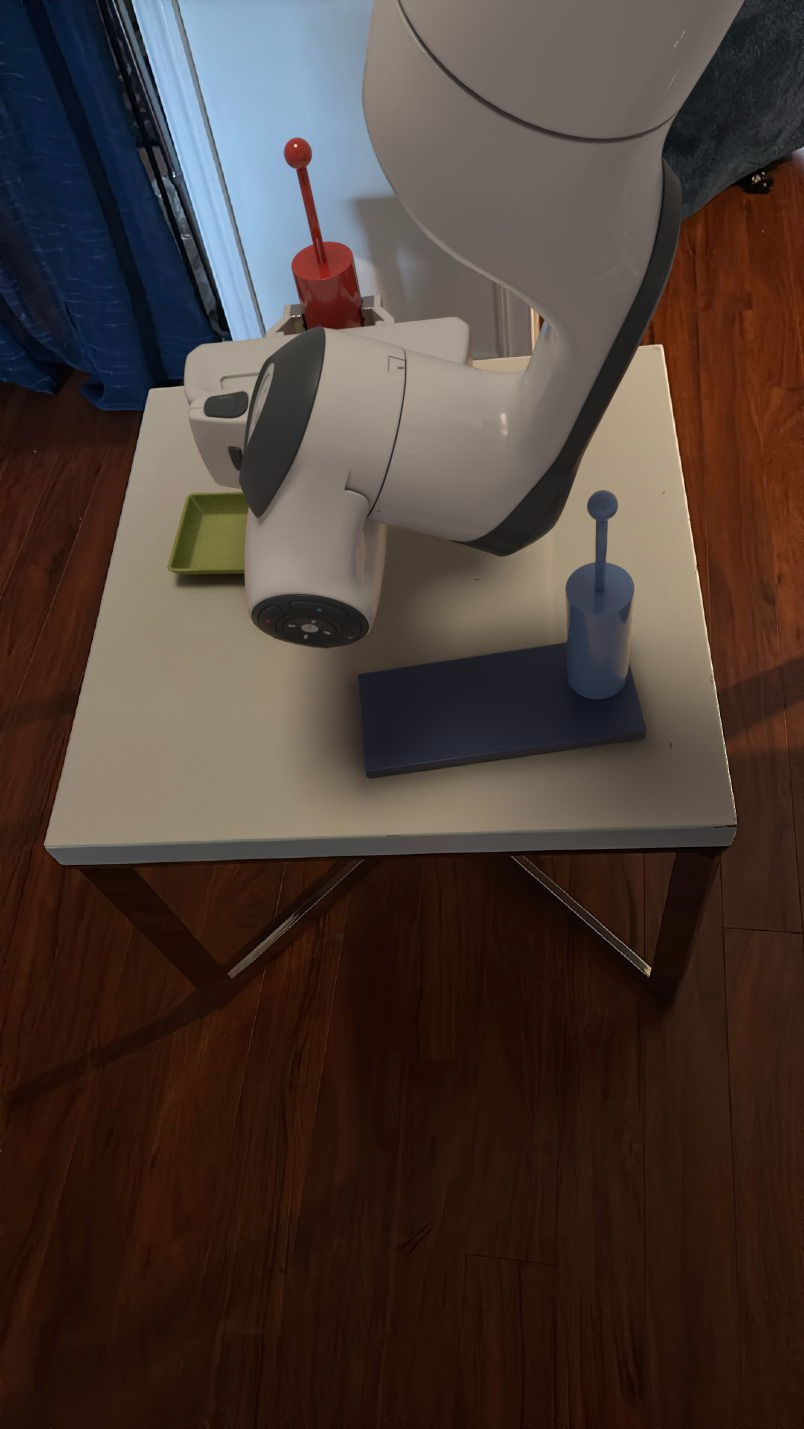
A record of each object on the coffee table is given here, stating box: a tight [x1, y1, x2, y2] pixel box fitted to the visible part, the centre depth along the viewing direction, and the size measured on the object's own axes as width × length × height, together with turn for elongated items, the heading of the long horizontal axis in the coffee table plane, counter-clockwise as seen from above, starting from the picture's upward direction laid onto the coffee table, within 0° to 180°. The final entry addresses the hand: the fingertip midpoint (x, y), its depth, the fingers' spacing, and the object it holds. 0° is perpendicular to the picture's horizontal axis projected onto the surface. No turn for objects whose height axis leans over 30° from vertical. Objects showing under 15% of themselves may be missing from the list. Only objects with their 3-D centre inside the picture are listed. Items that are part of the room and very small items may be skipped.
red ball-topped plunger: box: [283, 136, 364, 330], centre depth 73 cm, size 4×4×18 cm
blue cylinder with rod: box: [564, 489, 635, 699], centre depth 68 cm, size 4×4×18 cm
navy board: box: [357, 641, 647, 779], centre depth 76 cm, size 20×9×1 cm, turn 95°
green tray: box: [167, 491, 249, 575], centre depth 88 cm, size 9×9×2 cm
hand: (334, 307), depth 77 cm, fingers closed on red ball-topped plunger, 4 cm apart
